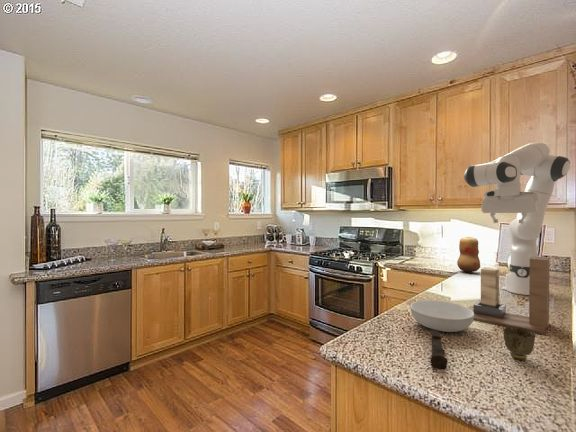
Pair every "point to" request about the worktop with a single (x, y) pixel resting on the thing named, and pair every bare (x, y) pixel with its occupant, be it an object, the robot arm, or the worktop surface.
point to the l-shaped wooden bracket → (537, 303)
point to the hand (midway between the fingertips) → (508, 223)
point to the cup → (519, 342)
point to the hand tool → (437, 352)
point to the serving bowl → (442, 315)
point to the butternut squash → (468, 255)
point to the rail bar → (490, 287)
